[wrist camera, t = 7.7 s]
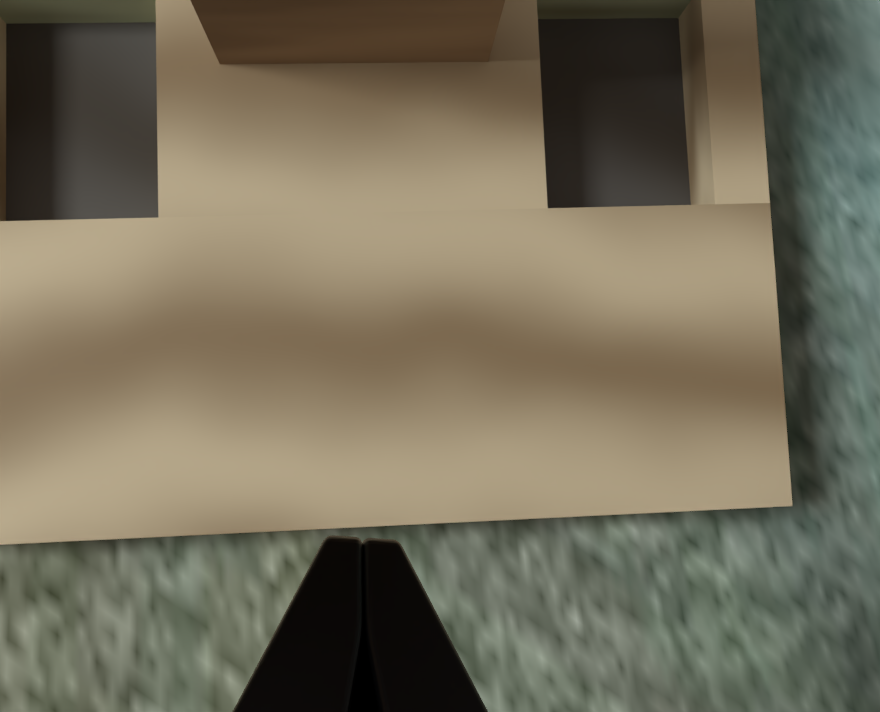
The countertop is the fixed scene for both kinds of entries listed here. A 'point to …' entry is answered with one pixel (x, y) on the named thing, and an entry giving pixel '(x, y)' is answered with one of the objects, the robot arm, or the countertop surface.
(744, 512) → the countertop surface
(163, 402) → the trap board
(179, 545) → the countertop surface
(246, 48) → the walnut block
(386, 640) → the robot arm
